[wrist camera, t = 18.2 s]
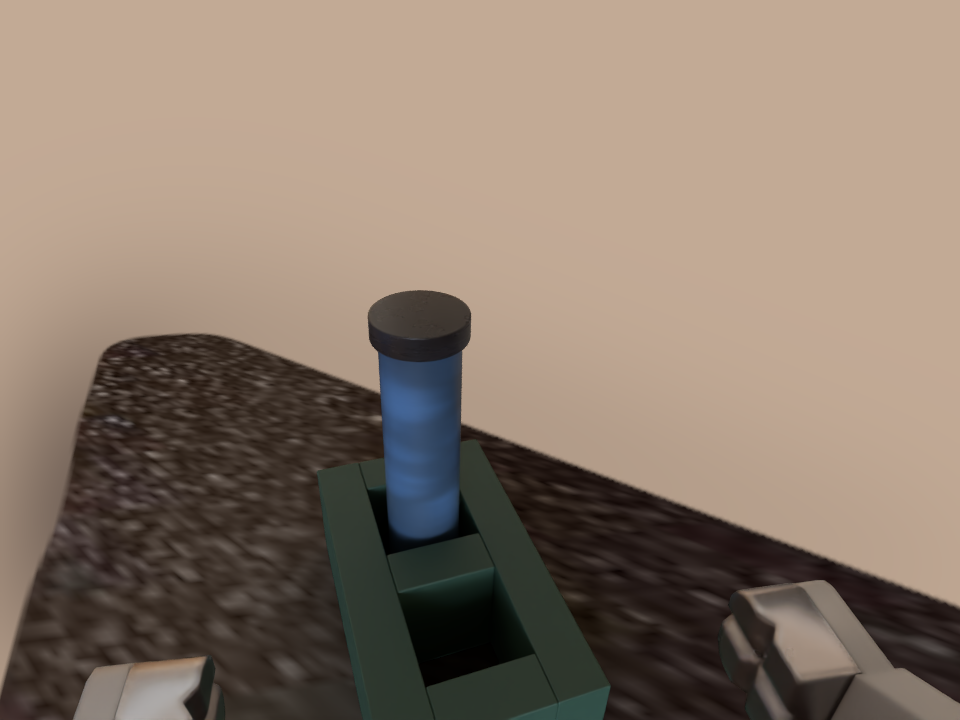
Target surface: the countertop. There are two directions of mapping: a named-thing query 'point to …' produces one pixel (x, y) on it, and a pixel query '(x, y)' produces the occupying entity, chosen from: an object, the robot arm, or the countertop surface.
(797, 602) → the robot arm
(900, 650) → the countertop surface
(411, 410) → the handle
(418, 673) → the holder
